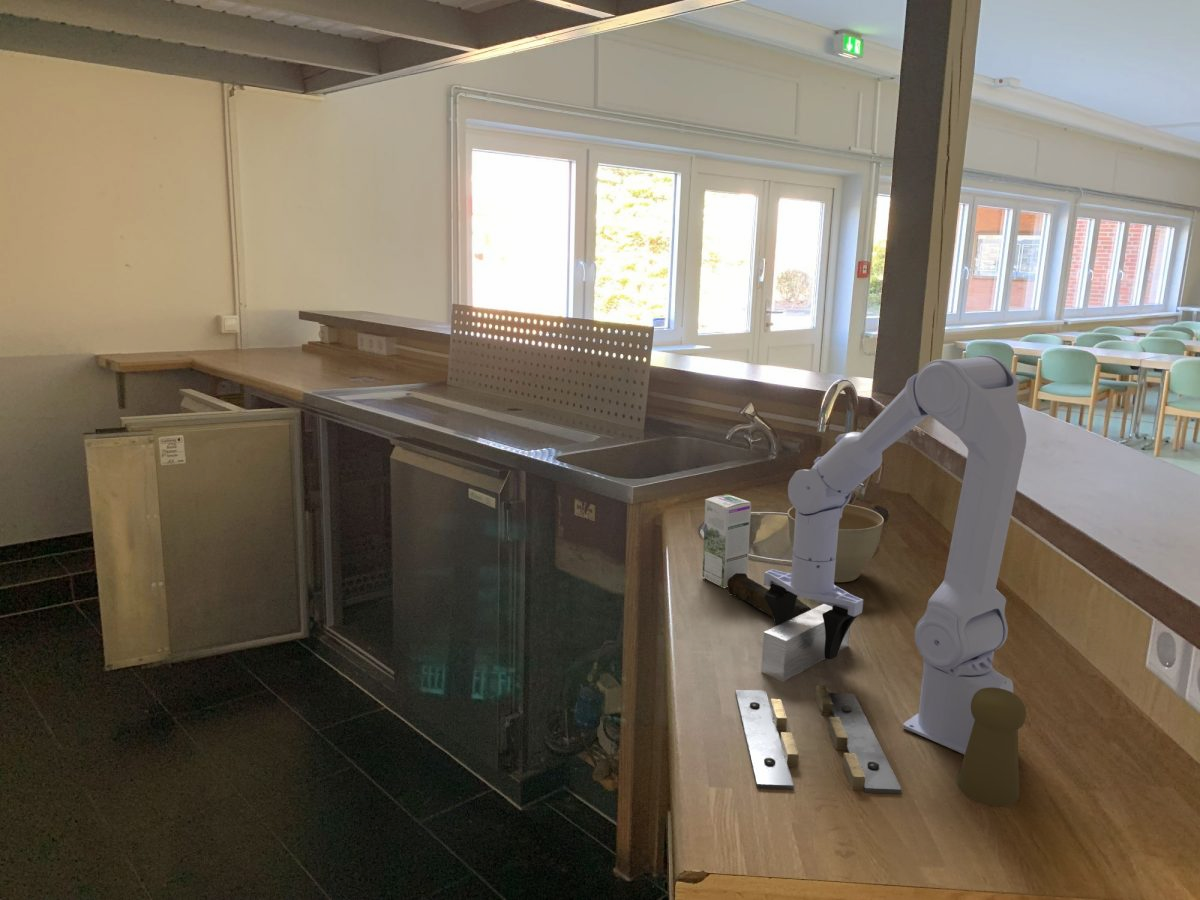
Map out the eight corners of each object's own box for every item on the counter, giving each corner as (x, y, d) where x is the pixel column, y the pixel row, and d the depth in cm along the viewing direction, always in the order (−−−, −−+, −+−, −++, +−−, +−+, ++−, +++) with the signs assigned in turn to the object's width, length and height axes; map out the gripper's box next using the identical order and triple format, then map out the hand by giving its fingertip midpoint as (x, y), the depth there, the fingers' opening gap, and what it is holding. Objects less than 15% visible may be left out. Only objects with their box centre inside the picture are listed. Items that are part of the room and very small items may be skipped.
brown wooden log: (725, 596, 142) (726, 569, 140) (745, 592, 143) (747, 566, 142) (795, 644, 125) (798, 614, 124) (818, 639, 126) (820, 610, 125)
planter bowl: (826, 552, 163) (830, 496, 160) (897, 579, 150) (903, 519, 147) (764, 568, 154) (768, 509, 151) (835, 598, 141) (840, 535, 138)
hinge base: (853, 697, 109) (854, 685, 109) (901, 793, 90) (902, 780, 90) (735, 693, 110) (735, 681, 110) (757, 788, 90) (757, 774, 90)
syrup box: (748, 582, 147) (753, 500, 144) (722, 589, 144) (727, 506, 140) (725, 572, 152) (730, 492, 148) (700, 578, 148) (704, 497, 145)
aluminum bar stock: (848, 647, 124) (851, 608, 123) (782, 682, 113) (785, 640, 112) (827, 638, 126) (830, 600, 125) (761, 673, 116) (763, 632, 114)
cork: (957, 798, 89) (969, 702, 87) (956, 766, 95) (967, 675, 92) (1021, 812, 87) (1035, 714, 85) (1016, 779, 93) (1029, 686, 90)
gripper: (878, 562, 114) (869, 656, 117) (787, 535, 124) (780, 622, 127) (849, 575, 109) (841, 673, 112) (757, 545, 120) (751, 636, 123)
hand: (807, 647), depth 119 cm, fingers open, 7 cm apart
